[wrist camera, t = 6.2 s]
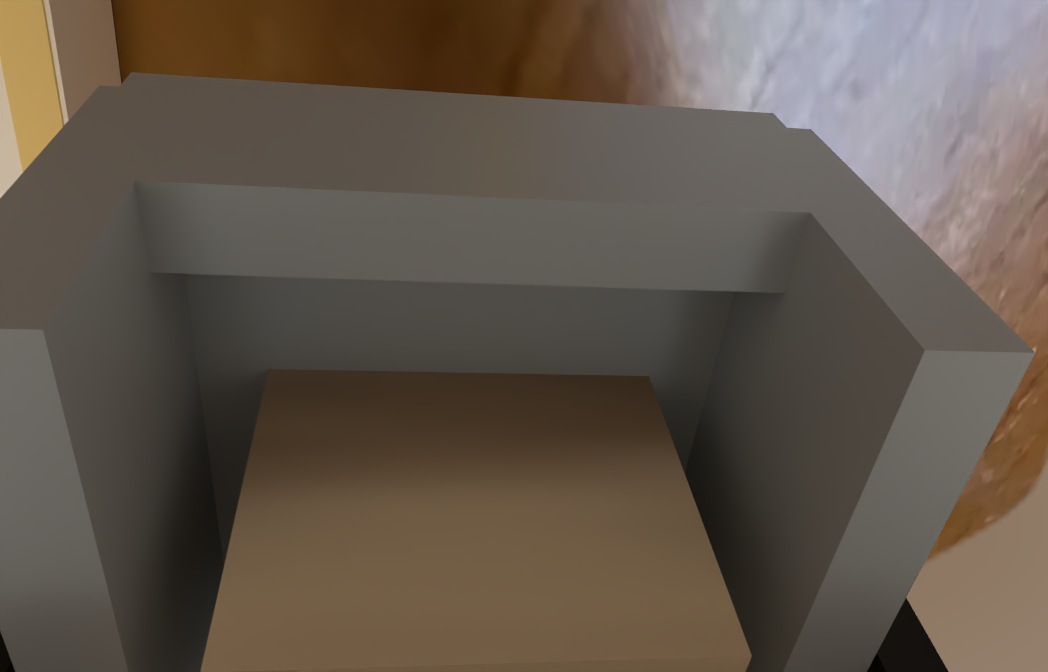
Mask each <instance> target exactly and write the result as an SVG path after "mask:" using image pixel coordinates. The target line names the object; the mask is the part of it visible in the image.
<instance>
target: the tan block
mask: <svg viewBox="0 0 1048 672" xmlns="http://www.w3.org/2000/svg"><path fill="white" fill-rule="evenodd" d="M751 657H752V655H751V652H750V649H749V647H748V644H747V641H746V639H745V636H744V633H743V630H742V628H741V625H740V622H739V620H738V617H737V614H736V611H735V609H734V606H733V603H732V601H731V598H730V595H729V592H728V590H727V587H726V584H725V582H724V579H723V576H722V574H721V571H720V568H719V565H718V563H717V560H716V557H715V555H714V552H713V549H712V546H711V544H710V541H709V538H708V536H707V533H706V530H705V527H704V525H703V522H702V519H701V517H700V514H699V511H698V508H697V506H696V503H695V500H694V498H693V495H692V492H691V489H690V487H689V484H688V481H687V479H686V476H685V473H684V470H683V468H682V465H681V462H680V460H679V457H678V454H677V452H676V449H675V446H674V443H673V441H672V438H671V435H670V433H669V430H668V427H667V424H666V422H665V419H664V416H663V414H662V411H661V408H660V405H659V403H658V400H657V397H656V395H655V392H654V389H653V386H652V384H651V381H650V378H649V376H615V375H561V374H507V373H453V372H399V371H345V370H291V369H268V372H267V377H266V381H265V386H264V390H263V394H262V399H261V403H260V408H259V412H258V417H257V421H256V426H255V430H254V435H253V439H252V444H251V448H250V453H249V457H248V462H247V466H246V470H245V475H244V479H243V484H242V488H241V493H240V497H239V502H238V506H237V511H236V515H235V520H234V524H233V529H232V533H231V538H230V542H229V546H228V551H227V555H226V560H225V564H224V569H223V573H222V578H221V582H220V587H219V591H218V596H217V600H216V605H215V609H214V613H213V618H212V622H211V627H210V631H209V636H208V640H207V645H206V649H205V654H204V658H203V663H202V667H201V672H746V669H747V667H748V664H749V662H750V659H751Z"/></svg>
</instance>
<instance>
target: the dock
mask: <svg viewBox="0 0 1048 672" xmlns="http://www.w3.org/2000/svg"><path fill="white" fill-rule="evenodd" d="M99 85H102V86H118V87H120V85H121V77H120V69H119V61H118V53H117V45H116V37H115V29H114V21H113V13H112V5H111V0H0V198H1V197H2V196H3V195H4V194H5V192H6V191H7V190H8V189H9V188H10V187H11V186H12V184H13V183H14V182H15V181H16V180H17V179H18V178H19V176H20V175H21V174H22V173H23V172H24V171H25V170H26V169H27V167H28V166H29V165H30V164H31V163H32V162H33V161H34V159H35V158H36V157H37V156H38V155H39V154H40V153H41V151H42V150H43V149H44V148H45V147H46V146H47V145H48V143H49V142H50V141H51V140H52V139H53V138H54V137H55V136H56V134H57V133H58V132H59V131H60V130H61V129H62V128H63V126H64V125H65V124H66V123H67V122H68V121H69V120H70V118H71V117H72V116H73V115H74V114H75V113H76V112H77V111H78V109H79V108H80V107H81V106H82V105H83V104H84V103H85V101H86V100H87V99H88V98H89V97H90V96H91V95H92V93H93V92H94V91H95V90H96V89H97V88H98V87H99Z"/></svg>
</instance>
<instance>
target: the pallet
mask: <svg viewBox="0 0 1048 672" xmlns="http://www.w3.org/2000/svg"><path fill="white" fill-rule="evenodd" d="M1034 355H1035V352H1034V351H1033V350H1032V349H1031V348H1030V347H1029V346H1028V345H1027V344H1026V343H1025V342H1024V341H1023V340H1022V339H1021V338H1020V337H1019V336H1018V335H1017V334H1016V333H1015V332H1014V331H1013V330H1012V329H1011V328H1010V327H1009V326H1008V325H1007V324H1006V323H1005V322H1004V321H1003V320H1002V319H1001V318H1000V317H999V316H998V315H997V314H996V313H995V312H994V311H993V310H992V309H991V308H990V307H989V306H988V305H987V304H986V303H985V302H984V301H983V300H982V299H981V298H980V297H979V296H978V295H977V294H976V293H975V292H974V291H973V290H972V289H971V288H970V287H969V286H968V285H967V284H966V283H965V282H964V281H963V280H962V279H961V278H960V277H959V276H958V275H957V274H956V273H955V272H954V271H953V270H952V269H951V268H950V267H949V266H948V265H947V264H946V263H945V262H944V261H943V260H942V259H941V258H940V257H939V256H938V255H937V254H936V253H935V252H934V251H933V250H932V249H931V248H930V247H929V246H928V245H927V244H926V243H925V242H924V241H923V240H921V239H920V238H919V237H918V236H917V235H916V234H915V233H914V232H913V231H912V230H911V229H910V228H909V227H908V226H907V225H906V224H905V223H904V222H903V221H902V220H901V219H900V218H899V217H898V216H897V215H896V214H895V213H894V212H893V211H892V210H891V209H890V208H889V207H888V206H887V205H886V204H885V203H884V202H883V201H882V200H881V199H880V198H879V197H878V196H877V195H876V194H875V193H874V192H873V191H872V190H871V189H870V188H869V187H868V186H867V185H866V184H865V183H864V182H863V181H862V180H861V179H860V178H859V177H858V176H857V175H856V174H855V173H854V172H853V171H852V170H851V169H850V168H849V167H848V166H847V165H846V164H845V163H844V162H843V161H842V160H841V159H840V158H839V157H838V156H837V155H836V154H835V153H834V152H833V151H832V150H831V149H830V148H829V147H828V146H827V145H826V144H825V143H824V142H823V141H822V140H821V139H820V138H819V137H818V136H817V135H816V134H815V133H814V132H813V131H812V130H811V129H797V128H786V126H785V125H784V124H783V123H782V122H781V121H780V120H779V119H778V118H777V117H776V116H775V115H774V114H773V113H757V112H742V111H726V110H711V109H695V108H679V107H664V106H648V105H633V104H617V103H602V102H586V101H571V100H555V99H539V98H524V97H508V96H493V95H477V94H462V93H446V92H430V91H415V90H399V89H384V88H368V87H353V86H337V85H321V84H306V83H290V82H275V81H259V80H244V79H228V78H212V77H197V76H181V75H166V74H150V73H135V72H131V73H130V74H129V76H128V77H127V78H126V79H125V80H124V82H123V83H122V84H121V85H120V87H118V86H102V85H99V87H98V88H97V89H96V90H95V91H94V92H93V93H92V95H91V96H90V97H89V98H88V99H87V100H86V101H85V103H84V104H83V105H82V106H81V107H80V108H79V109H78V111H77V112H76V113H75V114H74V115H73V116H72V117H71V118H70V120H69V121H68V122H67V123H66V124H65V125H64V126H63V128H62V129H61V130H60V131H59V132H58V133H57V134H56V136H55V137H54V138H53V139H52V140H51V141H50V142H49V143H48V145H47V146H46V147H45V148H44V149H43V150H42V151H41V153H40V154H39V155H38V156H37V157H36V158H35V159H34V161H33V162H32V163H31V164H30V165H29V166H28V167H27V169H26V170H25V171H24V172H23V173H22V174H21V175H20V176H19V178H18V179H17V180H16V181H15V182H14V183H13V184H12V186H11V187H10V188H9V189H8V190H7V191H6V192H5V194H4V195H3V196H2V197H1V198H0V631H1V634H2V637H3V640H4V642H5V645H6V648H7V650H8V653H9V656H10V659H11V661H12V664H13V667H14V669H15V672H201V667H202V663H203V658H204V654H205V649H206V645H207V640H208V636H209V631H210V627H211V622H212V618H213V613H214V609H215V605H216V600H217V596H218V591H219V587H220V582H221V578H222V573H223V569H224V564H225V560H226V555H227V551H228V546H229V542H230V538H231V533H232V529H233V524H234V520H235V515H236V511H237V506H238V502H239V497H240V493H241V488H242V484H243V479H244V475H245V470H246V466H247V462H248V457H249V453H250V448H251V444H252V439H253V435H254V430H255V426H256V421H257V417H258V412H259V408H260V403H261V399H262V394H263V390H264V386H265V381H266V377H267V372H268V369H291V370H345V371H399V372H453V373H507V374H561V375H615V376H649V378H650V381H651V384H652V386H653V389H654V392H655V395H656V397H657V400H658V403H659V405H660V408H661V411H662V414H663V416H664V419H665V422H666V424H667V427H668V430H669V433H670V435H671V438H672V441H673V443H674V446H675V449H676V452H677V454H678V457H679V460H680V462H681V465H682V468H683V470H684V473H685V476H686V479H687V481H688V484H689V487H690V489H691V492H692V495H693V498H694V500H695V503H696V506H697V508H698V511H699V514H700V517H701V519H702V522H703V525H704V527H705V530H706V533H707V536H708V538H709V541H710V544H711V546H712V549H713V552H714V555H715V557H716V560H717V563H718V565H719V568H720V571H721V574H722V576H723V579H724V582H725V584H726V587H727V590H728V592H729V595H730V598H731V601H732V603H733V606H734V609H735V611H736V614H737V617H738V620H739V622H740V625H741V628H742V630H743V633H744V636H745V639H746V641H747V644H748V647H749V649H750V652H751V655H752V657H751V659H750V662H749V664H748V667H747V669H746V672H867V670H868V669H869V667H870V665H871V663H872V661H873V659H874V657H875V655H876V653H877V652H878V650H879V648H880V646H881V644H882V642H883V640H884V638H885V636H886V635H887V633H888V631H889V629H890V627H891V625H892V623H893V621H894V619H895V618H896V616H897V614H898V612H899V610H900V608H901V606H902V604H903V602H904V601H905V599H906V597H907V595H908V593H909V591H910V589H911V587H912V585H913V583H914V582H915V580H916V578H917V576H918V574H919V572H920V570H921V568H922V566H923V565H924V563H925V561H926V559H927V557H928V555H929V553H930V551H931V549H932V548H933V546H934V544H935V542H936V540H937V538H938V536H939V534H940V532H941V531H942V529H943V527H944V525H945V523H946V521H947V519H948V517H949V515H950V514H951V512H952V510H953V508H954V506H955V504H956V502H957V500H958V498H959V497H960V495H961V493H962V491H963V489H964V487H965V485H966V483H967V481H968V480H969V478H970V476H971V474H972V472H973V470H974V468H975V466H976V464H977V463H978V461H979V459H980V457H981V455H982V453H983V451H984V449H985V447H986V445H987V444H988V442H989V440H990V438H991V436H992V434H993V432H994V430H995V428H996V427H997V425H998V423H999V421H1000V419H1001V417H1002V415H1003V413H1004V411H1005V410H1006V408H1007V406H1008V404H1009V402H1010V400H1011V398H1012V396H1013V394H1014V393H1015V391H1016V389H1017V387H1018V385H1019V383H1020V381H1021V379H1022V377H1023V376H1024V374H1025V372H1026V370H1027V368H1028V366H1029V364H1030V362H1031V360H1032V359H1033V357H1034Z"/></svg>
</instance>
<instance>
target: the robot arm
mask: <svg viewBox="0 0 1048 672" xmlns="http://www.w3.org/2000/svg"><path fill="white" fill-rule="evenodd" d="M0 672H15V669H14V667H13V664H12V661H11V659H10V656H9V653H8V650H7V648H6V645H5V642H4V640H3V637H2V634H1V631H0ZM867 672H948V670H947V668H946V667H945V665H944V663H943V661H942V660H941V658H940V656H939V655H938V653H937V651H936V649H935V647H934V646H933V644H932V642H931V640H930V639H929V637H928V635H927V633H926V632H925V630H924V628H923V626H922V625H921V623H920V621H919V619H918V618H917V616H916V614H915V612H914V611H913V609H912V607H911V605H910V604H909V602H908V600H907V598H906V599H905V601H904V602H903V604H902V606H901V608H900V610H899V612H898V614H897V616H896V618H895V619H894V621H893V623H892V625H891V627H890V629H889V631H888V633H887V635H886V636H885V638H884V640H883V642H882V644H881V646H880V648H879V650H878V652H877V653H876V655H875V657H874V659H873V661H872V663H871V665H870V667H869V669H868V670H867Z"/></svg>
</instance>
